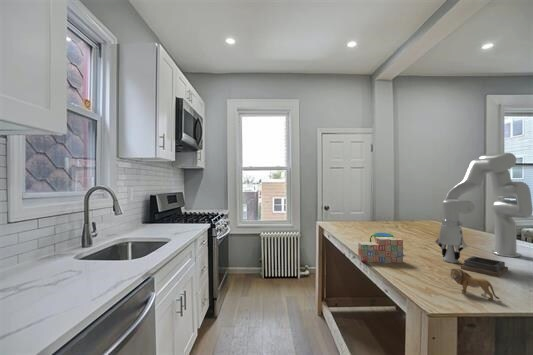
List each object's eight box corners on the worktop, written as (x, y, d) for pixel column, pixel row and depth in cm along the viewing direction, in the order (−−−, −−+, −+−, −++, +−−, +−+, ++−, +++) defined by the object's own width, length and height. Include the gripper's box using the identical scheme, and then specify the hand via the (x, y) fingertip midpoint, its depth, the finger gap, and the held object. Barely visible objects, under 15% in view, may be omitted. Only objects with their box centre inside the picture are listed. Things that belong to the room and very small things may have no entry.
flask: (457, 260, 147) (457, 241, 147) (460, 264, 141) (460, 244, 141) (441, 258, 150) (441, 240, 150) (443, 262, 144) (443, 243, 144)
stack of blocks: (361, 262, 144) (361, 238, 144) (358, 258, 150) (358, 236, 150) (403, 263, 142) (403, 239, 142) (398, 259, 149) (398, 237, 149)
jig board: (473, 263, 142) (472, 255, 143) (508, 270, 131) (507, 261, 131) (460, 268, 133) (460, 260, 133) (497, 276, 122) (497, 267, 122)
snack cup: (367, 250, 168) (367, 233, 168) (373, 247, 176) (373, 231, 176) (394, 255, 158) (394, 237, 158) (399, 251, 166) (399, 234, 166)
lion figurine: (449, 292, 105) (449, 268, 105) (451, 287, 109) (450, 265, 109) (499, 302, 96) (499, 277, 96) (499, 297, 100) (499, 273, 100)
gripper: (472, 225, 141) (472, 260, 141) (436, 221, 155) (436, 253, 155) (466, 226, 137) (467, 263, 136) (430, 222, 150) (430, 255, 150)
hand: (450, 257), depth 145 cm, fingers closed on flask, 5 cm apart
